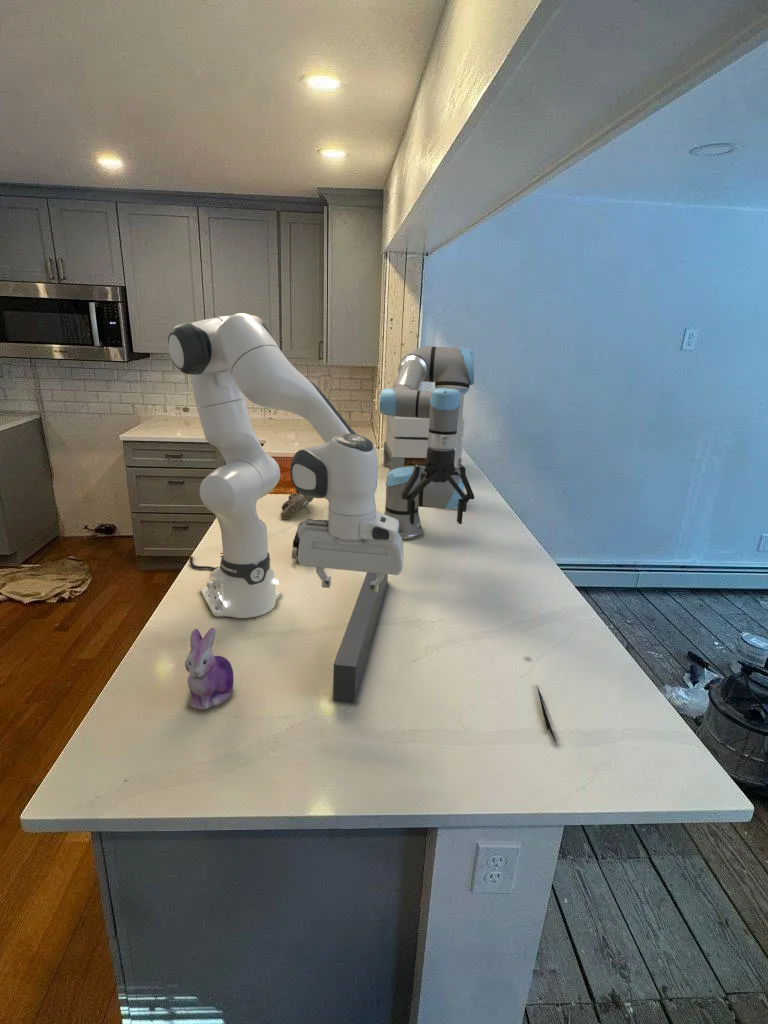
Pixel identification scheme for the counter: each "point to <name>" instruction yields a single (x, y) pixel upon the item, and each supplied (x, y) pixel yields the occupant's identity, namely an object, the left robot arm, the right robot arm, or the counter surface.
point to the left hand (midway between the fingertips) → (350, 588)
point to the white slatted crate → (408, 441)
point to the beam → (357, 641)
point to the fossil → (295, 505)
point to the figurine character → (295, 546)
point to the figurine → (207, 672)
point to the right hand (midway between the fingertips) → (435, 522)
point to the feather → (545, 714)
